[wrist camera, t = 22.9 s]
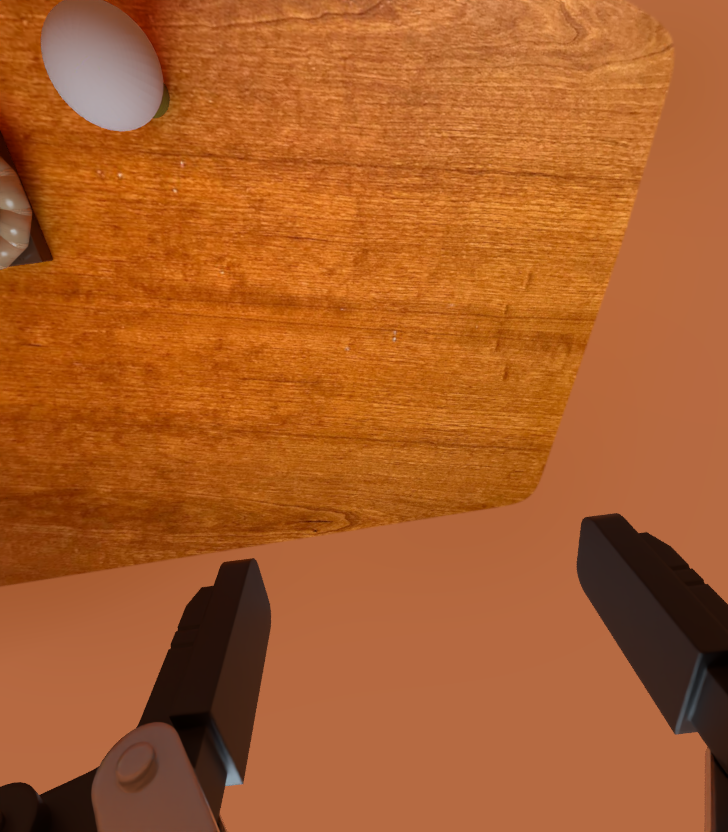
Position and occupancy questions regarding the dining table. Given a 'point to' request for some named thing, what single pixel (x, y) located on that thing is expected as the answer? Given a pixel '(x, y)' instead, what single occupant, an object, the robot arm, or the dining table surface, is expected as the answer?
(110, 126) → the light bulb
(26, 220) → the beige segmented ring
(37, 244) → the stand
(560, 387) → the dining table surface
